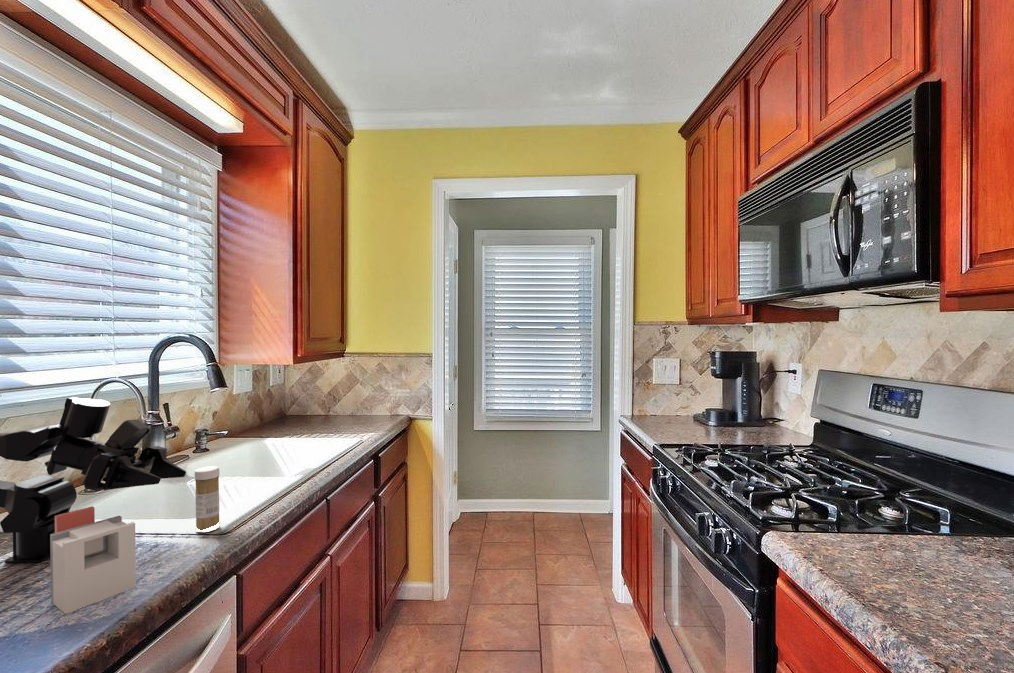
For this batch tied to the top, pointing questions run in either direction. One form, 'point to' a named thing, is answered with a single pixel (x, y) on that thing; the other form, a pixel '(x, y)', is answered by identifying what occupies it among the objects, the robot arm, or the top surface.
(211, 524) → the sprinkles bottle
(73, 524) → the button
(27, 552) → the robot arm
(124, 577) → the box
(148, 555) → the top surface
